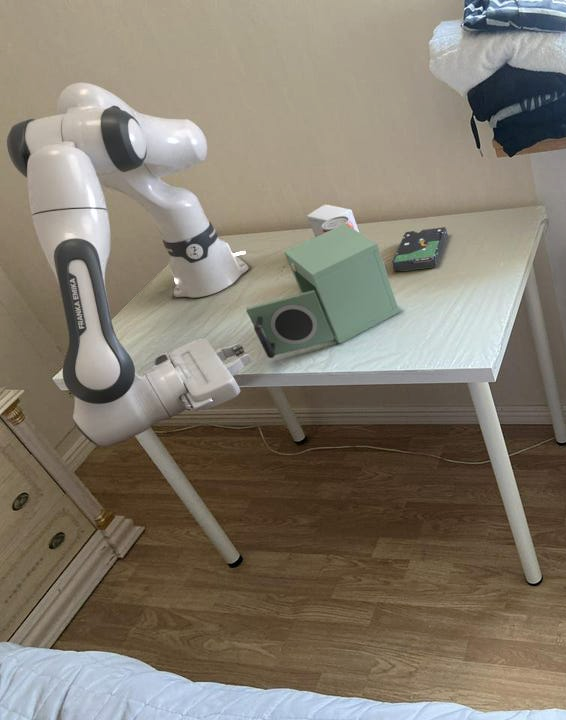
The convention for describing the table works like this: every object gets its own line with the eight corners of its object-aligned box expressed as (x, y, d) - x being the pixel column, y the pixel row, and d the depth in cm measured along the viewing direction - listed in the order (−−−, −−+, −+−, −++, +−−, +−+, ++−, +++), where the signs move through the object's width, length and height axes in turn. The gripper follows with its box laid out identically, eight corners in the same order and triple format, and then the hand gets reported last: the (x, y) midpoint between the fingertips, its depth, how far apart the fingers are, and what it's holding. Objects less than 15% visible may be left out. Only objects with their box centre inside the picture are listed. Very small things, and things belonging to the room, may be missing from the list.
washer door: (333, 351, 134) (313, 302, 127) (267, 369, 134) (243, 321, 127) (333, 337, 138) (314, 289, 131) (269, 354, 138) (246, 307, 131)
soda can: (363, 279, 158) (344, 228, 151) (334, 282, 160) (314, 231, 153) (372, 263, 164) (355, 213, 156) (344, 266, 166) (326, 216, 158)
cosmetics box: (319, 253, 174) (305, 215, 168) (338, 241, 178) (325, 203, 172) (346, 260, 168) (332, 220, 162) (365, 247, 172) (352, 208, 165)
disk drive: (407, 242, 169) (394, 272, 158) (404, 231, 168) (390, 262, 156) (448, 236, 167) (438, 267, 155) (446, 226, 165) (435, 256, 154)
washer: (338, 344, 138) (310, 275, 129) (309, 318, 149) (282, 252, 140) (399, 312, 143) (377, 243, 134) (367, 288, 154) (344, 223, 145)
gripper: (180, 399, 115) (257, 360, 120) (154, 352, 130) (223, 318, 135) (197, 427, 119) (271, 388, 124) (169, 378, 134) (236, 345, 139)
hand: (246, 351), depth 130 cm, fingers open, 3 cm apart
